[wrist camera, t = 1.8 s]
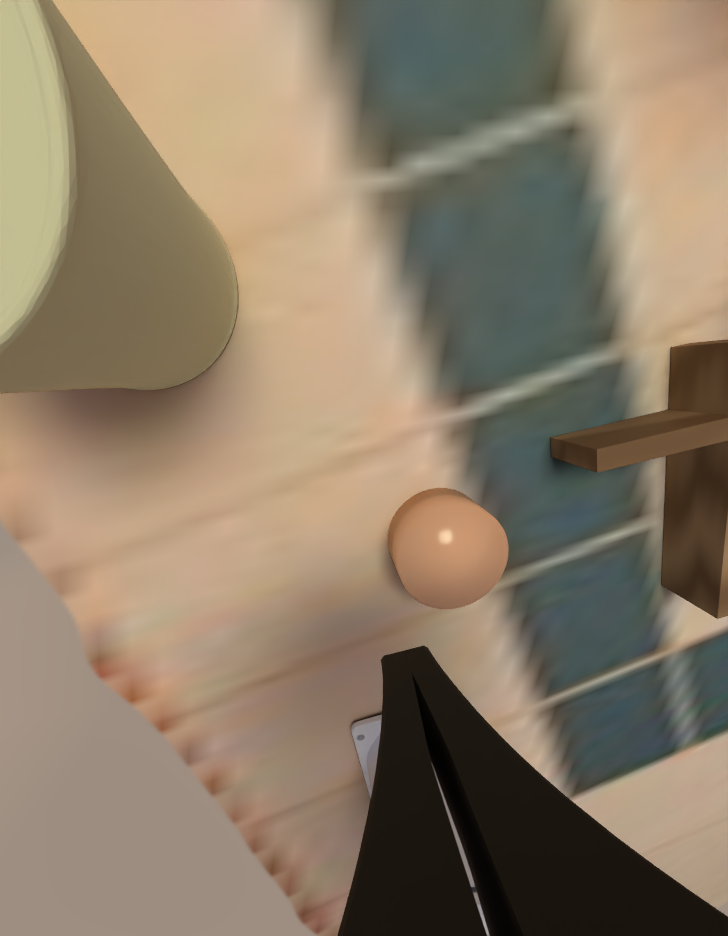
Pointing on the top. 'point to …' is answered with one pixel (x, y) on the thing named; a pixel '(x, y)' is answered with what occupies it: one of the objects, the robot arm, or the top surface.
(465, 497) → the tan rounded pebble
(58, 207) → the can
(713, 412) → the mortise joint
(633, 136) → the top surface
